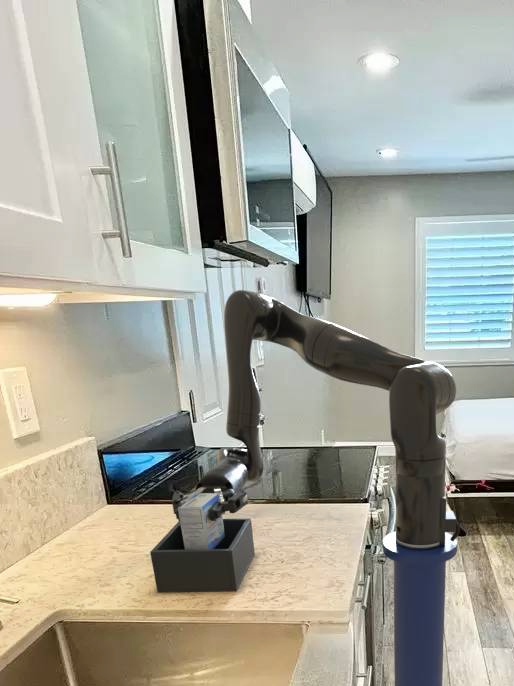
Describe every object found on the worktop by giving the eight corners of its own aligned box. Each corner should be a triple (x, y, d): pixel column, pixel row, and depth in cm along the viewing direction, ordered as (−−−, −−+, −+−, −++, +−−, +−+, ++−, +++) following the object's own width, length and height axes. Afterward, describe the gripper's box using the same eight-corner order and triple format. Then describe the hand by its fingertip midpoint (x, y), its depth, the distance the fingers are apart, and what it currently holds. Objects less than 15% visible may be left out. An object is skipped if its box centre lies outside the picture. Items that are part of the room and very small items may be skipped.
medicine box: (209, 555, 98) (202, 507, 95) (184, 554, 99) (177, 506, 95) (225, 537, 105) (220, 493, 102) (202, 536, 106) (196, 492, 103)
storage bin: (254, 554, 111) (250, 518, 108) (236, 591, 97) (231, 550, 94) (185, 556, 111) (180, 519, 109) (157, 593, 97) (149, 552, 94)
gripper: (182, 468, 112) (150, 495, 96) (255, 467, 111) (235, 494, 96) (187, 504, 114) (157, 537, 99) (258, 503, 114) (240, 535, 98)
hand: (196, 515), depth 97 cm, fingers closed on medicine box, 5 cm apart
